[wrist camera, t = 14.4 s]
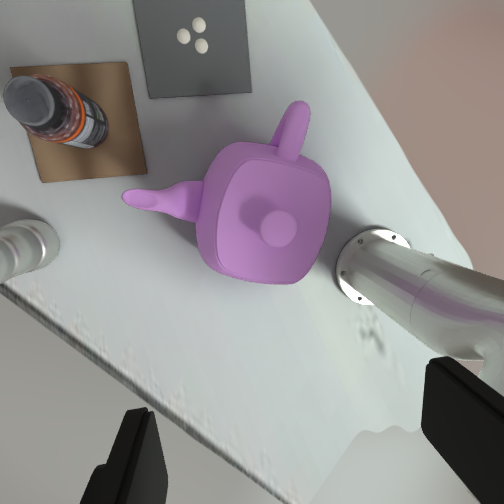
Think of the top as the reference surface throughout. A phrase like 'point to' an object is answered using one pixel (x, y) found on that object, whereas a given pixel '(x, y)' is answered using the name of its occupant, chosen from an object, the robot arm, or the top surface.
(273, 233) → the teapot
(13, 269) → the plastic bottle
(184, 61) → the dot mat
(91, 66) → the walnut board
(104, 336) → the top surface
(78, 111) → the supplement bottle
